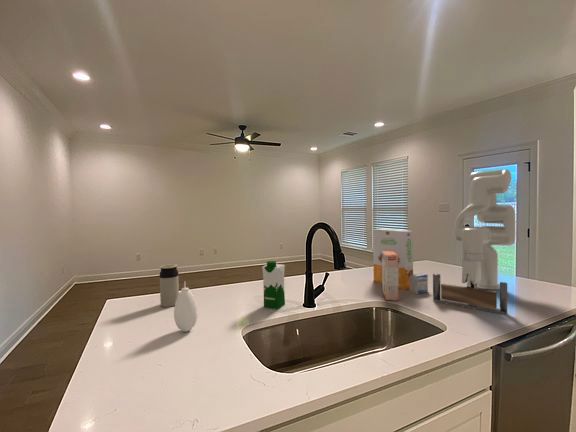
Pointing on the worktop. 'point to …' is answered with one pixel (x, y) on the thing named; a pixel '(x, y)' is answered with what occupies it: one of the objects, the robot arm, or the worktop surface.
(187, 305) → the white air blower bulb
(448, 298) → the gate
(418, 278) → the medicine box
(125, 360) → the worktop surface
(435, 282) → the gate frame
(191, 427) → the worktop surface
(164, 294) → the travel mug
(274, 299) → the milk carton
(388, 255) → the cracker box
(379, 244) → the cereal box
